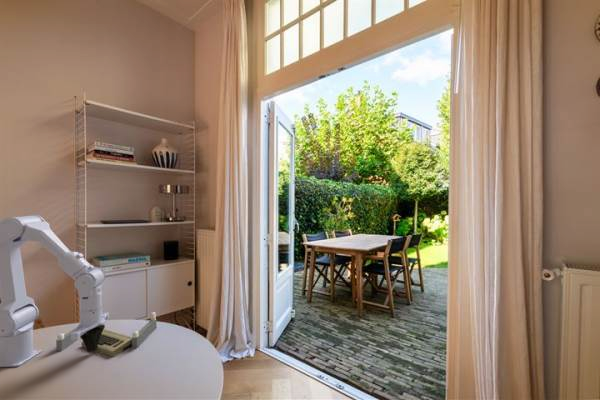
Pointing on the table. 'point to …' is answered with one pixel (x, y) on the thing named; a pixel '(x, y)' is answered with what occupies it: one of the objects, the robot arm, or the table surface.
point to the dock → (136, 339)
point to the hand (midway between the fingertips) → (92, 350)
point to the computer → (113, 343)
